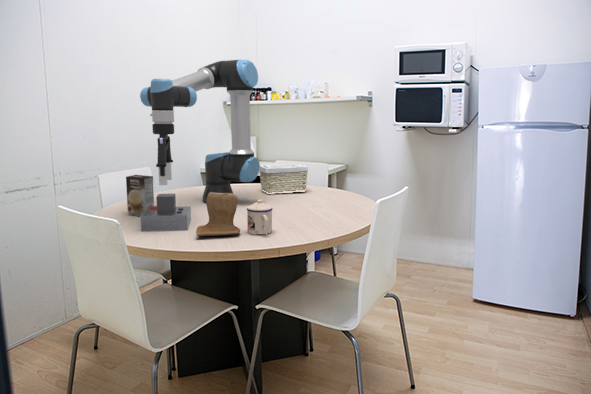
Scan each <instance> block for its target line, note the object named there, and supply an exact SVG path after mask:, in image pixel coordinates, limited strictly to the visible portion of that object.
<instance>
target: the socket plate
mask: <svg viewBox="0 0 591 394" xmlns="http://www.w3.org/2000/svg"><path fill="white" fill-rule="evenodd" d="M191 209H192V207H191V205H190V206H188V205H187V206H186V205H185V206H184V205H183V206H176V210H175V212H174V213H157V205H154V206H150V207H148V208H147V209H146V210H145V212H144V213H143V214H142V215H141V216H140V227H141V232H160V231H161V232H162V231H163V232H166V231H188V230H189V227H190V224H191V220H192V210H191Z"/></svg>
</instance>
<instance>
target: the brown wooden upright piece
mask: <svg viewBox="0 0 591 394" xmlns="http://www.w3.org/2000/svg"><path fill="white" fill-rule="evenodd" d="M205 204H206V210H207V214H208V215H207V216H208V222H207V223H206V224H204V225H199V226H197V227H196V231H195V234H196V236H197V237H218V236H220V237H221V236H229V235H237V234H240V233H241V229H240V228H239V227H237V226H236V225H235V224H234V218H235V214H236V211H237V208H238V198H237V195H236V194H235V193H233V194H231V193H213V192H210V193H209V194H208V196H207V200H206V203H205Z"/></svg>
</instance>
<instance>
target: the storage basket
mask: <svg viewBox="0 0 591 394" xmlns="http://www.w3.org/2000/svg"><path fill="white" fill-rule="evenodd" d="M308 171H309V167H308V165H304V164H302V163H281V164H280V163H277V164H275V163H271V164H269V163H268V164H263V163H262V164H261V163H260V168H259V179H260V186H261V188H260V189H262V190H264V191H266V192H268V193H272V192H283V191H296V190H305V189H306V190H307V183H308V182H307V181H308ZM262 190H261V191H262Z"/></svg>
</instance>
